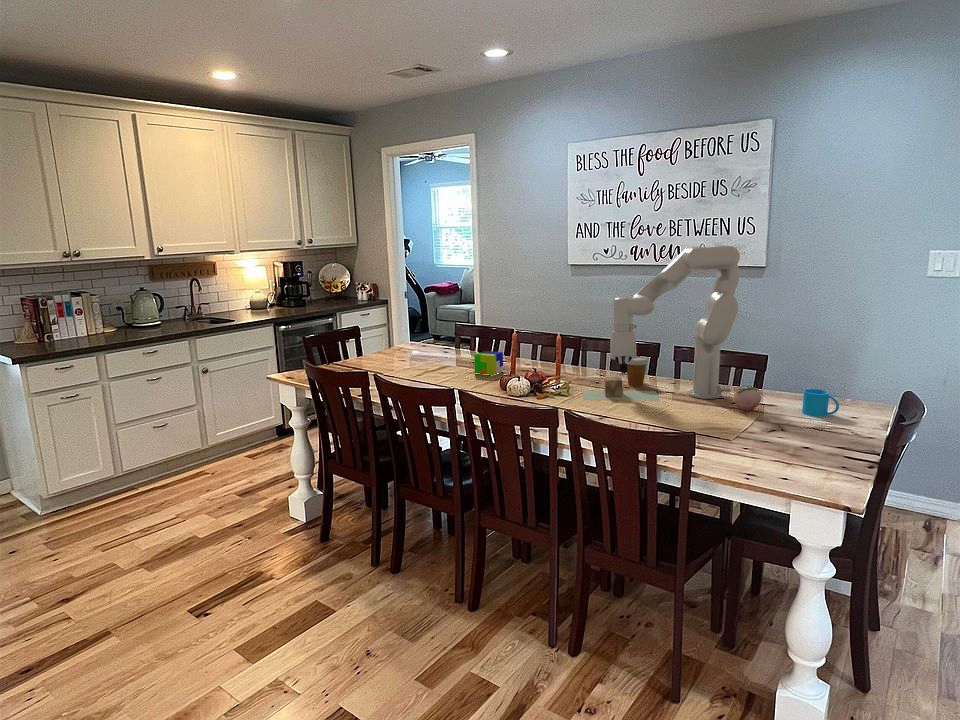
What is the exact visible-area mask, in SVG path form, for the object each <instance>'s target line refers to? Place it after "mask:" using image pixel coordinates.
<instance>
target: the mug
mask: <svg viewBox="0 0 960 720" xmlns="http://www.w3.org/2000/svg"><path fill="white" fill-rule="evenodd" d="M802 396H803V397H802V406H801V407H802V408H801V413H802V414H803V415H804V416H810V417H817V418H818V417H819V418H822V417H826V416H829V415H830V416H831V415H833V414H836V413H837V412H838V411H839V409H840V403H839V402H838V400H837V399H836V398H835V397H833V396H831V395H830V392H829V391H827V390H824V389H818V388H817V389H816V388H808V389H804V390H803V395H802ZM830 399H831V400H832V401H833V402H834V404H835V409H834V410H832V411H830V412H828V411H829V402H830V401H829V400H830Z"/></svg>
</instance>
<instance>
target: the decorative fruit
mask: <svg viewBox="0 0 960 720" xmlns="http://www.w3.org/2000/svg"><path fill="white" fill-rule="evenodd" d="M759 391H761V390H760V389H759V388H757V387H752V386H751V387H744V388H739V389H738V390H736V392H735V393H734V398H733V399H734V403H735V405H736V406H737V408H739V409H740V410H742V411H744V412H747V413H748V412H751V411H753V410H754V409H755V408H757V407H758V406H759V405H760V403H761V400H762V396H761V394H760V392H759Z"/></svg>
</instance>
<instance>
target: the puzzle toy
mask: <svg viewBox="0 0 960 720" xmlns="http://www.w3.org/2000/svg"><path fill="white" fill-rule="evenodd" d="M473 355H474V359H473V360H474V374H475V373H480V374H489V375H494V374H497V373H499V372H502V371H503V372H504V352H503V351H494V350H492V351H491V350H483V351H481V352H477V353H474V354H473Z"/></svg>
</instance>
